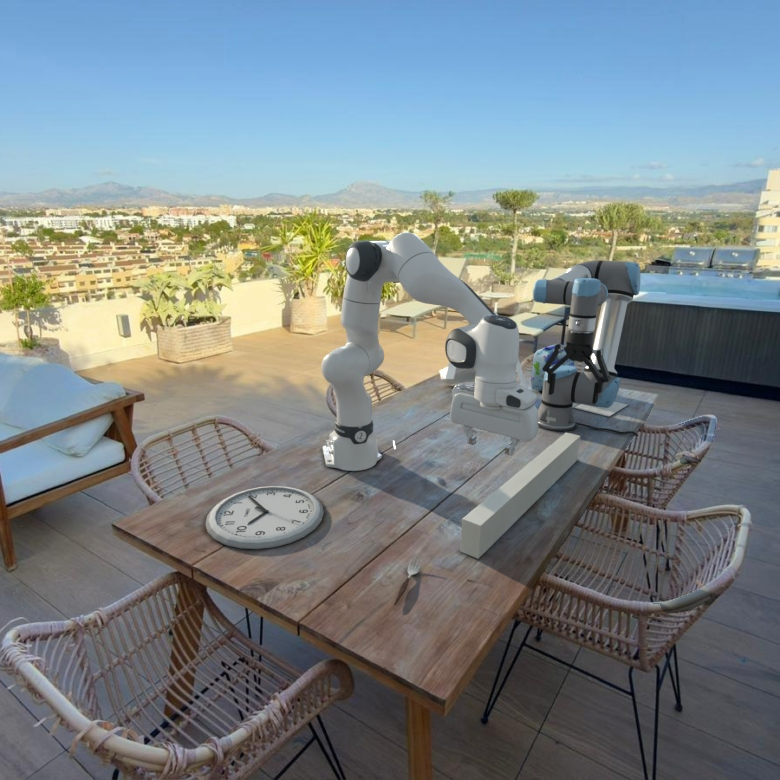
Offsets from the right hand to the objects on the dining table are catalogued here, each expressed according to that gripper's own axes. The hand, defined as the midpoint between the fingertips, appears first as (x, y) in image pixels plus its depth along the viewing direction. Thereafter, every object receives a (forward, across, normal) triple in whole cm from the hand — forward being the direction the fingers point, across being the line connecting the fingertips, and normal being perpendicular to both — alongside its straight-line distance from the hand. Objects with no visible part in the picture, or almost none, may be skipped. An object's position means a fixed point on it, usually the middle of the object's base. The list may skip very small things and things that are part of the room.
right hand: (572, 398), depth 163 cm
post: (+23, 0, -28) cm, 36 cm away
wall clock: (+23, -51, -81) cm, 98 cm away
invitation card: (+23, -7, +68) cm, 72 cm away
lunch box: (+23, -34, +80) cm, 90 cm away
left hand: (-2, 0, -57) cm, 57 cm away
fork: (+23, -6, -80) cm, 84 cm away
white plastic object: (+23, -58, +52) cm, 81 cm away
